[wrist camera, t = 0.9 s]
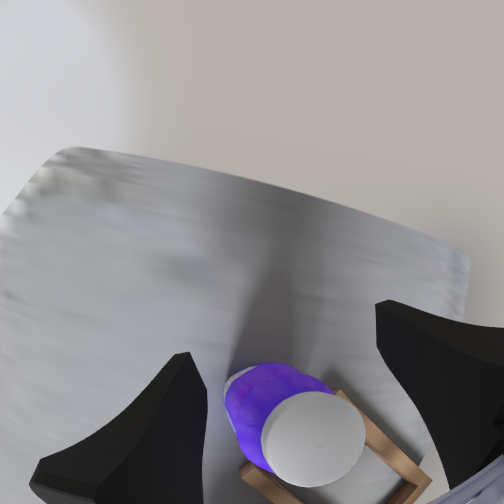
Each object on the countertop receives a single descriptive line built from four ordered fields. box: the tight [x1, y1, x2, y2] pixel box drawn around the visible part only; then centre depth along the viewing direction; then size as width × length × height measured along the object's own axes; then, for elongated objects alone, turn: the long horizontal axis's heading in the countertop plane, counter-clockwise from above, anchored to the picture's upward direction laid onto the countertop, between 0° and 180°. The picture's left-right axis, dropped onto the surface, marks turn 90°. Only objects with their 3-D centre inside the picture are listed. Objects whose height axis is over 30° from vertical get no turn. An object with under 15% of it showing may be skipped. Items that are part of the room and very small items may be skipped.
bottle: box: [223, 362, 366, 487], centre depth 16 cm, size 7×6×17 cm
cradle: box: [239, 388, 432, 504], centre depth 20 cm, size 19×12×2 cm, turn 42°
